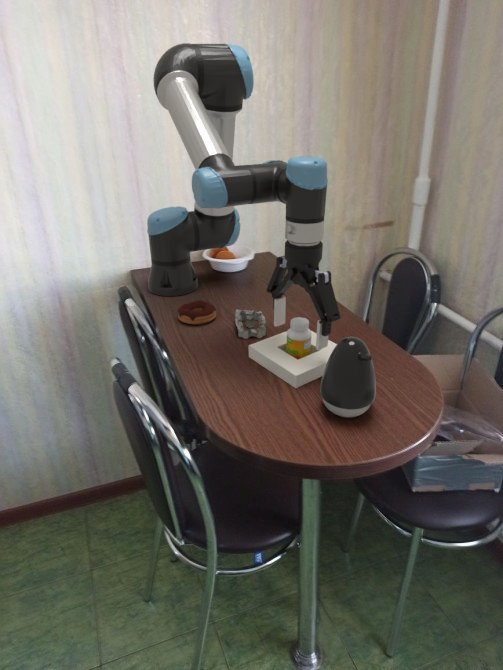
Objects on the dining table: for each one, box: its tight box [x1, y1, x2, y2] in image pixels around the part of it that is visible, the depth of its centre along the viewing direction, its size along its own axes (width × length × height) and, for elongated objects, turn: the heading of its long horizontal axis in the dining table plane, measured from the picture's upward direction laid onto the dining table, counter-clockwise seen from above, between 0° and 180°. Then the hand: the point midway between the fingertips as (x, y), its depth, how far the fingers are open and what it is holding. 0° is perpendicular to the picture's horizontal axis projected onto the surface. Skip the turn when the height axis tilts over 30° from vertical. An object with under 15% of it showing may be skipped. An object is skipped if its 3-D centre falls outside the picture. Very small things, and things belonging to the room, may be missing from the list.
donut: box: [177, 300, 217, 325], centre depth 125 cm, size 10×10×4 cm
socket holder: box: [248, 329, 338, 389], centre depth 106 cm, size 16×16×3 cm
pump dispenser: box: [319, 336, 377, 418], centre depth 87 cm, size 10×10×15 cm
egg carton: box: [234, 309, 267, 339], centre depth 120 cm, size 11×8×4 cm
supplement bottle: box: [286, 316, 312, 360], centre depth 104 cm, size 5×5×10 cm
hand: (299, 335), depth 104 cm, fingers open, 13 cm apart
